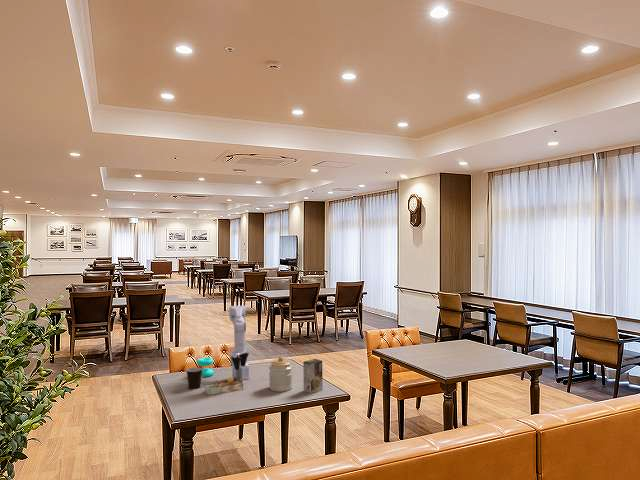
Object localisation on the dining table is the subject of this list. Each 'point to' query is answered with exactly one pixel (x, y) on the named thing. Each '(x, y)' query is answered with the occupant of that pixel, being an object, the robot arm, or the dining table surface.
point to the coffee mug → (194, 377)
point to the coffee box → (312, 375)
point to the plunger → (238, 375)
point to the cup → (212, 389)
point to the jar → (280, 375)
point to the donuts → (205, 362)
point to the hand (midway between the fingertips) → (240, 367)
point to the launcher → (229, 385)
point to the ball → (230, 379)
